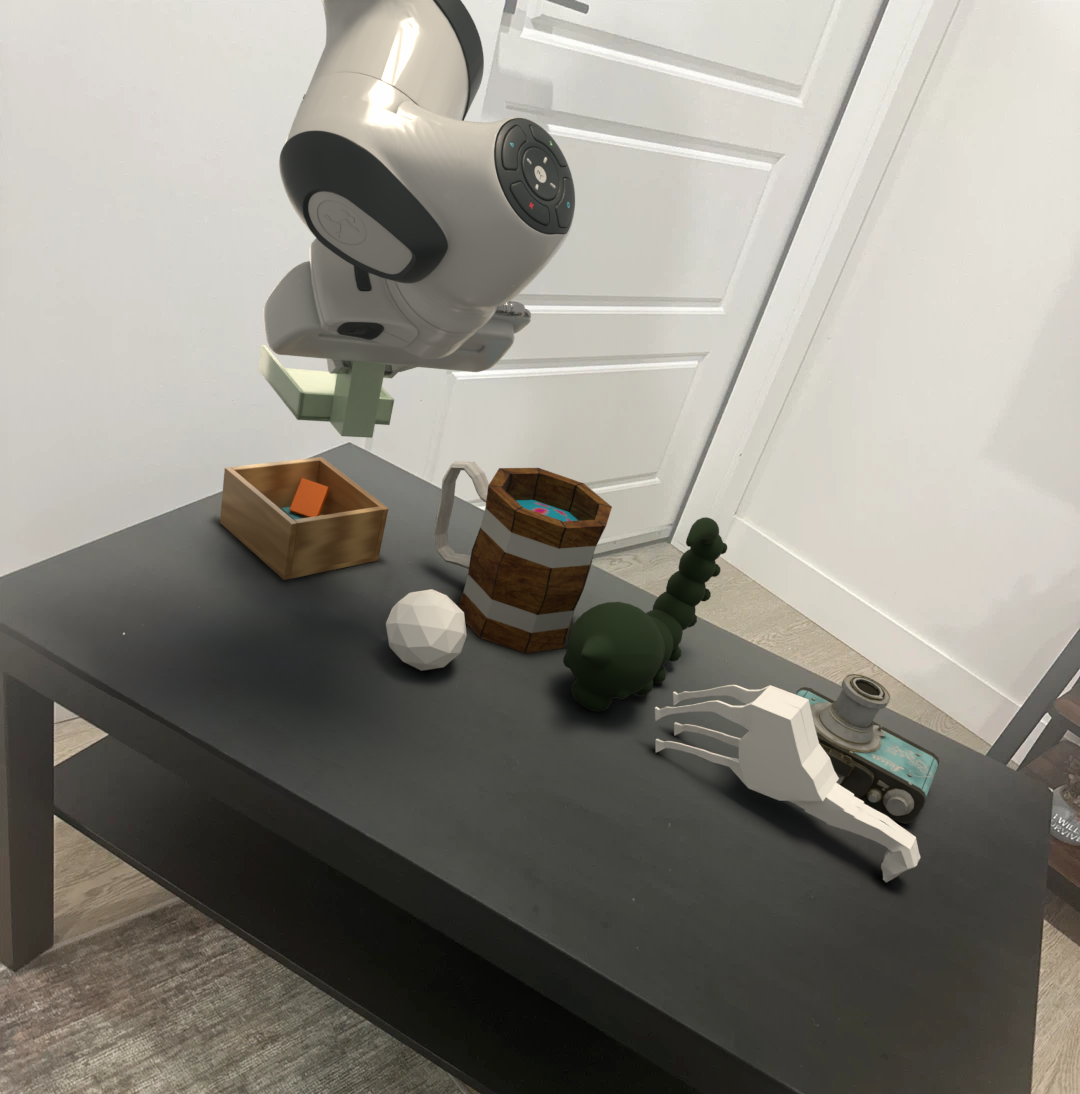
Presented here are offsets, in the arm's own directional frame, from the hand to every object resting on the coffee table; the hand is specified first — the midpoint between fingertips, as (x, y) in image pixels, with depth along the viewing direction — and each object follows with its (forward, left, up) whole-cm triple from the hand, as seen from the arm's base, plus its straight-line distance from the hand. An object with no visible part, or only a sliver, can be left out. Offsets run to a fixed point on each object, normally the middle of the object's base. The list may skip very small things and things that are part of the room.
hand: (358, 367), depth 86 cm
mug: (+19, -7, -25) cm, 32 cm away
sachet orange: (+8, +15, -21) cm, 27 cm away
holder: (+6, +12, -25) cm, 28 cm away
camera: (+34, -46, -25) cm, 62 cm away
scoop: (+1, +5, -5) cm, 7 cm away
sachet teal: (+8, +15, -23) cm, 29 cm away
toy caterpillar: (+22, -24, -25) cm, 41 cm away
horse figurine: (+21, -45, -25) cm, 55 cm away
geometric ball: (+4, -12, -25) cm, 28 cm away
